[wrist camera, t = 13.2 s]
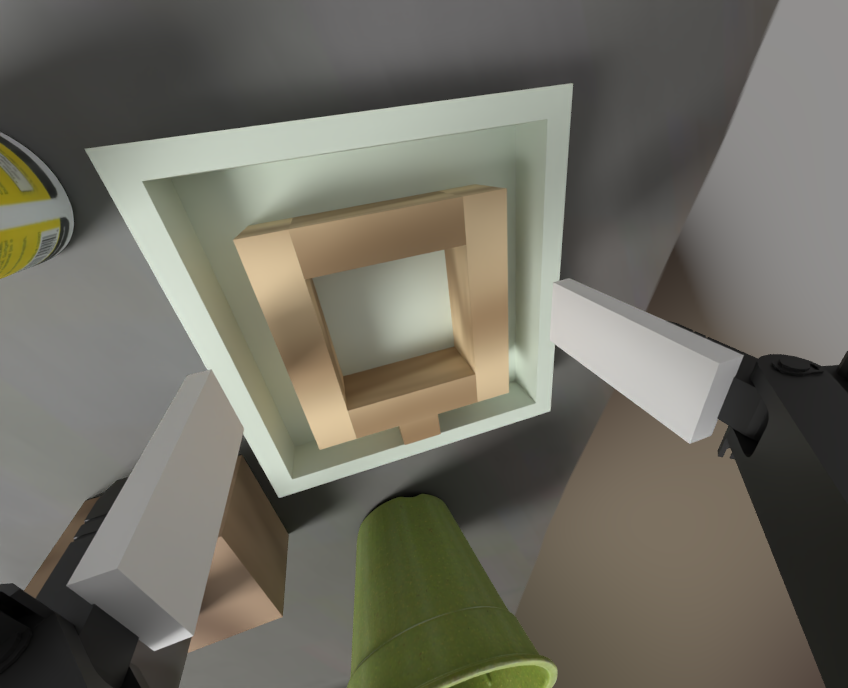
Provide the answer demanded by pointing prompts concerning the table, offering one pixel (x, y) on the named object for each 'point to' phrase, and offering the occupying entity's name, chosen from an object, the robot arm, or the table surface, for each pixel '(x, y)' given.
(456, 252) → the wooden frame with peg
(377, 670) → the plant pot
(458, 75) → the table surface
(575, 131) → the table surface
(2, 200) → the supplement bottle
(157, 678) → the wooden block
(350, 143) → the tray
